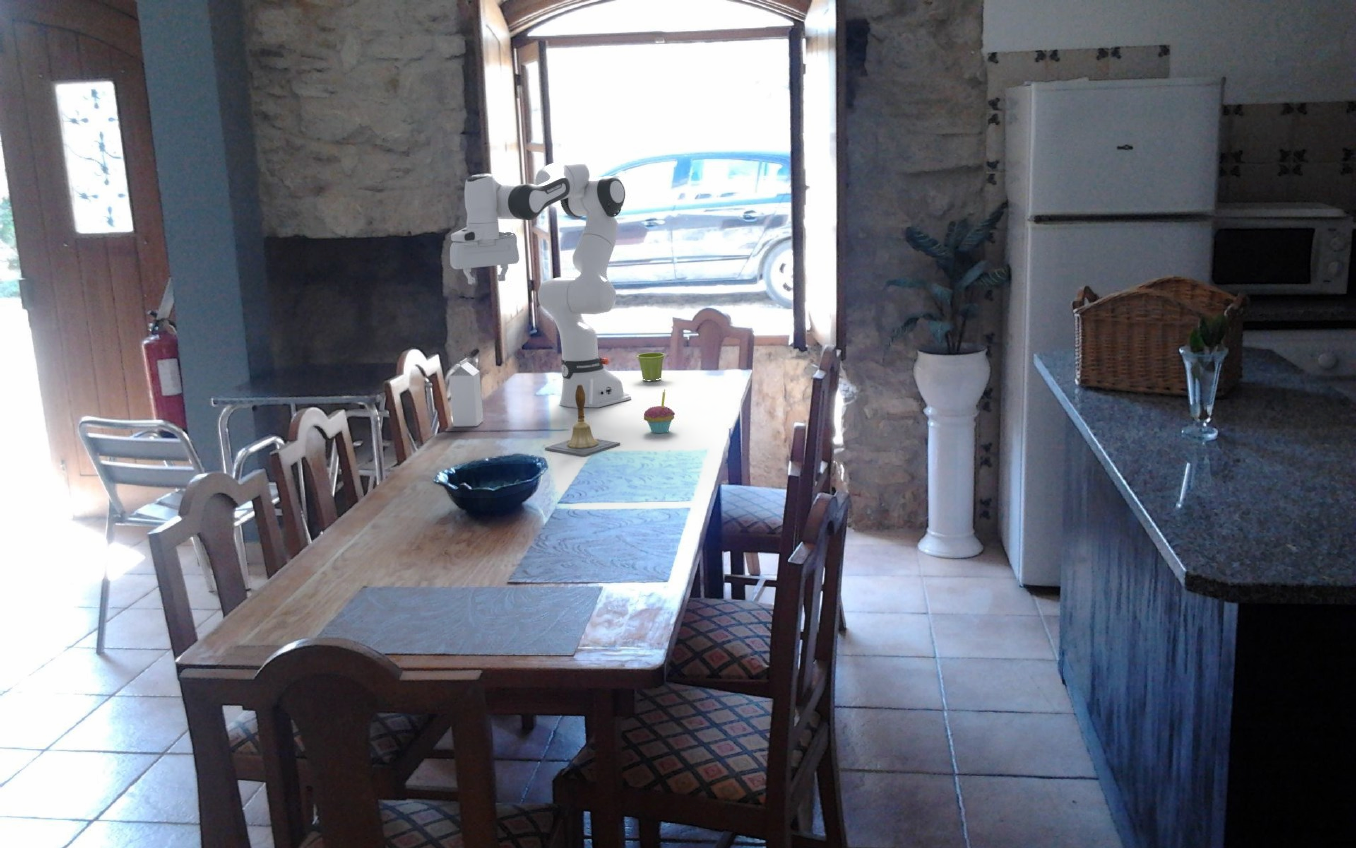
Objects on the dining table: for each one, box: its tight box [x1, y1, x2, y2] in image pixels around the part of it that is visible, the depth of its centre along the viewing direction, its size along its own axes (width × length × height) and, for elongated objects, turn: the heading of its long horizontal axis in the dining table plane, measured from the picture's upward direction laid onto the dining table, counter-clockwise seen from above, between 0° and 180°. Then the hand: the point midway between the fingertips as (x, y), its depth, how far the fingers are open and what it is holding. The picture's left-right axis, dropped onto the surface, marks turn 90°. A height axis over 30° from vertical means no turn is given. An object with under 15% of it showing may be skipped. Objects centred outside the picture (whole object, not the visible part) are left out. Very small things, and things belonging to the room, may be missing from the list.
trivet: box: [544, 438, 621, 458], centre depth 307 cm, size 14×14×1 cm
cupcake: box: [643, 389, 676, 434], centre depth 320 cm, size 9×8×12 cm
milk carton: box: [448, 357, 484, 427], centre depth 337 cm, size 7×7×19 cm
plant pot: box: [636, 352, 665, 381], centre depth 394 cm, size 9×9×9 cm
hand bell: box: [567, 385, 598, 448], centre depth 305 cm, size 8×8×16 cm
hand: (486, 282), depth 329 cm, fingers open, 8 cm apart
